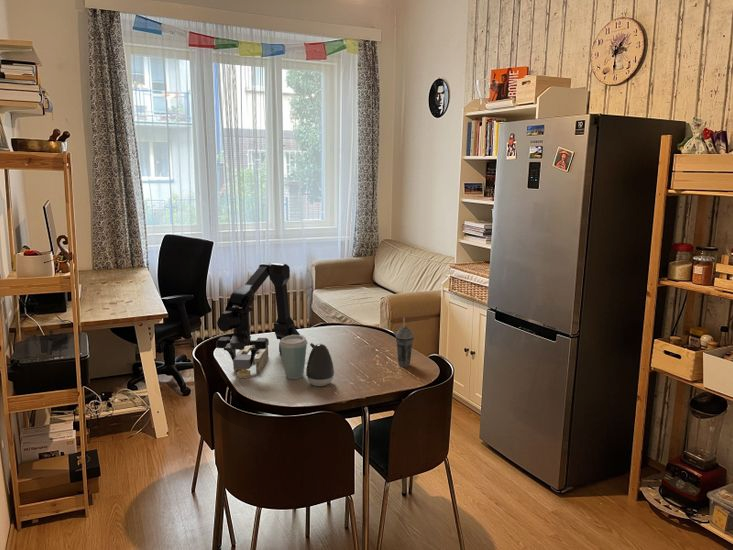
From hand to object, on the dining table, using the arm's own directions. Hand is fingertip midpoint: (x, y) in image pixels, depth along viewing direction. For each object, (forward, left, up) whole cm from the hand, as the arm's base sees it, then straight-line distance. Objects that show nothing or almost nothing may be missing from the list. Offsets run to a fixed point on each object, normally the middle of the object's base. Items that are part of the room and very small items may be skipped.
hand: (243, 364), depth 218 cm
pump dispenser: (-30, +6, -5) cm, 31 cm away
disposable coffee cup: (-19, -1, -5) cm, 20 cm away
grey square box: (0, 0, -4) cm, 4 cm away
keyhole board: (0, -12, -4) cm, 13 cm away
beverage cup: (-61, -16, -5) cm, 63 cm away
